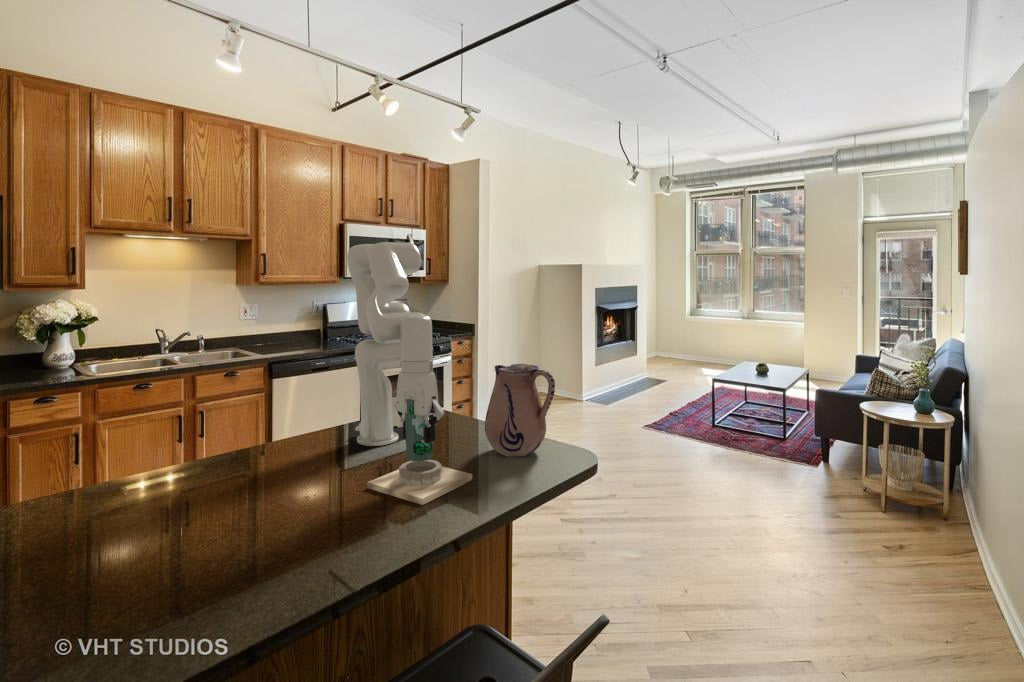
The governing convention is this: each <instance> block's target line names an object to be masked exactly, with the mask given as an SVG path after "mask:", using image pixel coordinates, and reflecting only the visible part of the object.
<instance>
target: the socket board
mask: <svg viewBox="0 0 1024 682" xmlns="http://www.w3.org/2000/svg"><path fill="white" fill-rule="evenodd" d="M472 480H473V474H472V473H469V472H465V471H462V470H457V469H453V468H449V467H447V466H446V467H445V466H443V465H442V464H441V463H440V462H439V461H438V460H434V459H429V460H425V461H419V462H418V461H415V462H414V461H409V460H408V461H405V462H403V463H401V465H400V466H399V468H398V469H396V470H394V471H391V472H389V473H386V474H384V475H382V476H379V477H376V478H375V479H372V480H369V481H367V489H370V490H371V491H375V492H379V493H382V494H385V495H389V496H392V497H395V498H399V499H402V500H405V501H408V502H410V503H415V504H416V505H417V504H418V505H421V506H424V505H426V504H428V503H429V502H432V501H434V500H436V499H437V498H439V497H441V496H444V495H445V494H447V493H449V492H452V491H454V490H455V489H457V488H460V487H461V486H463V485H466V484H467V483H468V482H471V481H472Z"/></svg>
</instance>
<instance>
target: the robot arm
mask: <svg viewBox="0 0 1024 682" xmlns="http://www.w3.org/2000/svg"><path fill="white" fill-rule="evenodd" d="M346 258H347V259H346V263H347V267H348V268H347V269H348V272H349V274H350V275H349V276H350V278H351V279H352V282H353V285H354V288H355V295H356V296H355V297H356V313H357V322H358V323H357V324H358V328H359V331H360V332H361V333H362V334H365V335H371V336H372V338H371V339H370V338H369V339H366V340H365V339H364V340H362V341H360V342H359V343H357V344H356V347H355V348H354V356H355V361H356V366H357V372H358V381H359V382H358V383H359V398H360V399H359V402H360V419H361V420H360V422H359V424H358V425H356V427H355V431H357V432H359V435H358V436H357V437H356V442H357V444H359V445H361V446H365V447H378V446H386V445H390V444H394V443H396V442H397V441H398V440H399V437H400V436H399V433H397V432H394V426H393V409H392V398H393V385H392V383H391V380H390V379H389V377H388V376H387V375H385V373H384V372H383V371H385V370H386V371H387V370H392V369H401V371H399V373H398V377H397V383H396V385H397V386H396V397H397V401H396V402H395V404H394V407H395V409H396V410H397V411H398V414H399V416H400V417H401V422H403V427H402V430H403V431H402V434H403V436H402V437H403V439H405V440H406V426H405V410H406V413H407V401H406V399H410V400H414V415H417V416H423V418H424V421H425V424H426V427H424V439H425V443H430V442H432V441H433V442H434V441H436V426H437V425H438V423H439V421H440V420H441V418H443V416H444V415H445V413H446V412H445V411H444V409H443V408H442V406H441V405H440V403H439V392H438V384H437V378H436V374H435V372H434V359H433V351H434V350H433V322H432V319H431V317H430V316H428V315H425V314H424V313H422V312H418V311H417V312H415V311H413V312H411V310H410V308H409V307H408V305H407V304H405V303H403V302H394V301H396V300H398V299H400V298H402V297H403V296H404V295H405V294H406V293H407V292H408V290H409V285H410V284H409V279H408V278H407V274H414V273H417V272H418V271H419V270H420V268H421V264H422V255H421V253H420V250H419V248H418V247H417V245H415V243H413V242H412V243H411V242H396V241H395V242H393V241H391V242H390V241H386V242H385V241H382V242H377V243H363V244H357V245H353V246H351V247H350V248H349V249H348V251H347V257H346ZM430 411H431V413H430ZM429 416H430V418H431V420H430V419H429Z"/></svg>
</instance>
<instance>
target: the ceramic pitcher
mask: <svg viewBox="0 0 1024 682" xmlns="http://www.w3.org/2000/svg"><path fill="white" fill-rule="evenodd" d="M494 371H495V379H494V386H493V388H492V391H491V395H490V399H489V402H488V406H487V409H486V410H487V411H486V415H485V421H484V432H485V436H486V439H487V441H488V443H489V445H490V446H491V447H492V448H493V450H494V451H496V452H497V453H499V454H500V455H502V456H505V457H526V456H527V455H531V454H532V453H535V451H536V450H538V448H539V447H540V446H541V445H542V444H543V441H544V439H545V437H546V434H547V432H546V431H547V421H546V420H547V419H546V416H547V413H548V410H549V409H550V406H551V405H552V401H553V399H554V396H555V390H556V387H555V386H556V382H555V379H554V377H553V376H552V374H551V373H550V372H549V371H547V370H544V369H543V370H542V369H540V367H539V366H538V365H534V364H527V363H516V364H515V363H513V364H510V365H509V366H506V365H502V364H497V365H495V366H494ZM540 376H543V377H544V378H545V379H546V380H547V383H548V388H547V394H546V398H545V399H544V402H542V400H541V397H540V394H539V391H538V389H537V388H538V387H537V384H536V379H537V378H538V377H540Z"/></svg>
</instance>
